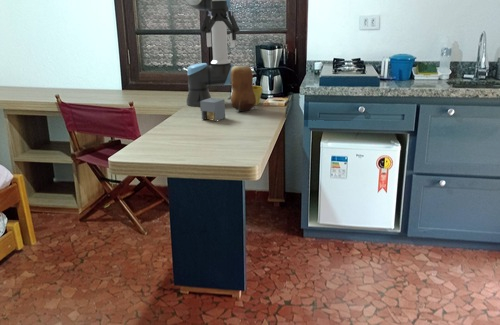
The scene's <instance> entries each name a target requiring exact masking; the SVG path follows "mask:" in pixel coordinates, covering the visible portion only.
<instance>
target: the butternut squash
mask: <svg viewBox="0 0 500 325" xmlns="http://www.w3.org/2000/svg"><path fill="white" fill-rule="evenodd" d="M253 78H254V77H253V72H252V68H251V66H249V65H246V64H245V65H233V67H232V69H231V84H230V85H231V87H232V91H231V96H230V103H231V106H232V108H235V110H237V111H240V112H248V111H250V110H251V109H252V108H254V106H256V105H255V103H256V99H255V94H254V92H253V88H252V86H254V85H253V83H254V82H253V80H254V79H253Z"/></svg>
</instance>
